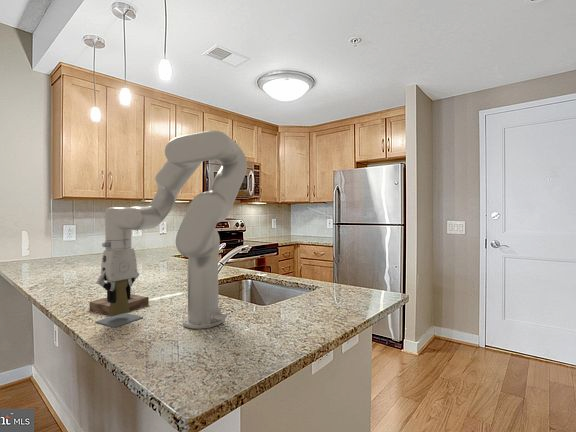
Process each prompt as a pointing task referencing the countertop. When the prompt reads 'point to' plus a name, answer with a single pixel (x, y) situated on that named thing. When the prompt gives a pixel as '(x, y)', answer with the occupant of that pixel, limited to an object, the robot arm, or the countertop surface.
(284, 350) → the countertop surface
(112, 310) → the cork
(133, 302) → the socket block
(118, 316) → the rubber mat
